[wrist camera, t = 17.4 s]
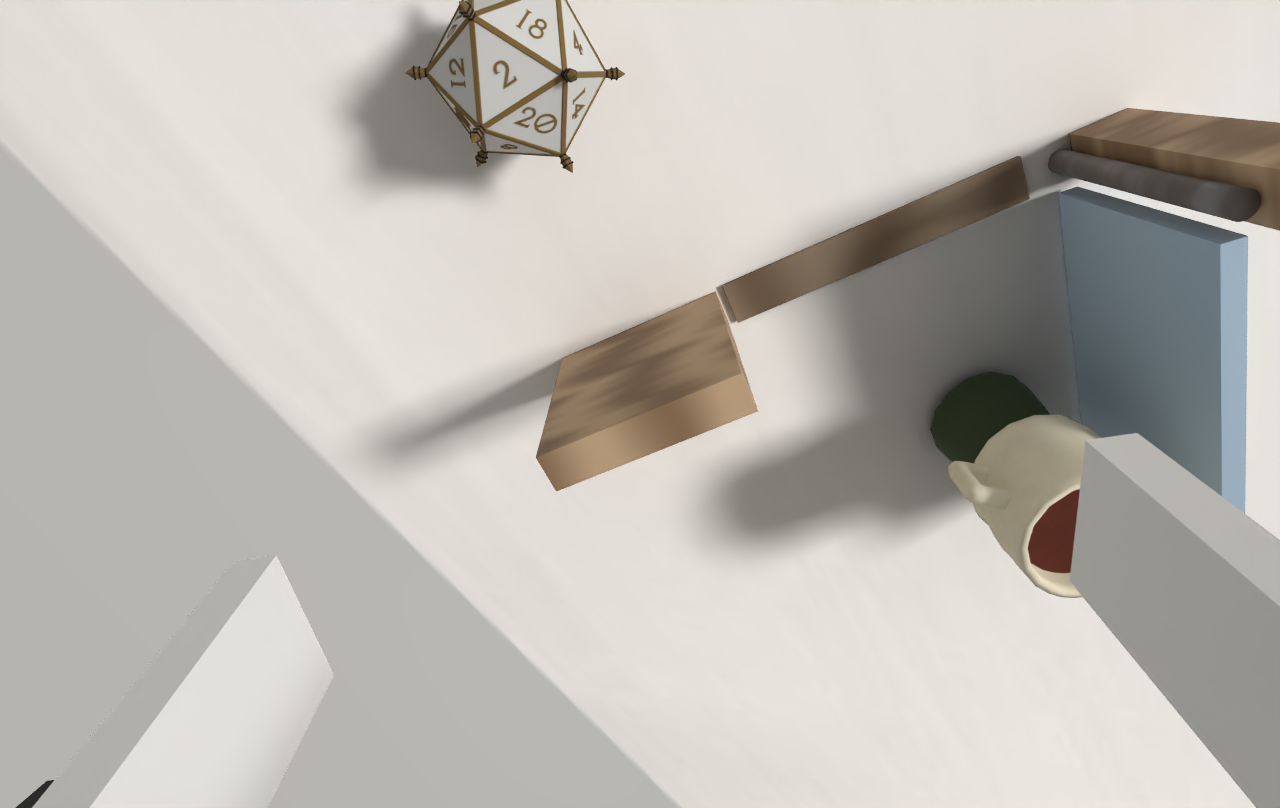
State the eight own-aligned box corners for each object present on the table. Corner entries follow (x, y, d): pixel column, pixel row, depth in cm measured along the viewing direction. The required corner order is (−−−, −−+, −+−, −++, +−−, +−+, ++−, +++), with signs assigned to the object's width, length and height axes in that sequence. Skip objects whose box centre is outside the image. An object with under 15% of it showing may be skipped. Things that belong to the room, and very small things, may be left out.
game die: (572, 55, 40) (690, 54, 32) (499, 191, 40) (601, 221, 33) (436, -73, 33) (545, -108, 26) (351, 91, 34) (436, 100, 26)
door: (1057, 193, 39) (1220, 244, 28) (1104, 177, 38) (1286, 223, 27) (1085, 458, 46) (1222, 581, 35) (1124, 447, 45) (1275, 568, 34)
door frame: (578, 388, 44) (553, 519, 32) (560, 355, 43) (527, 477, 31) (1134, 152, 38) (1378, 197, 26) (1127, 108, 37) (1377, 132, 25)
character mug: (875, 447, 46) (955, 579, 34) (916, 345, 43) (1019, 453, 31) (1033, 477, 47) (1164, 616, 35) (1084, 380, 44) (1245, 496, 32)
